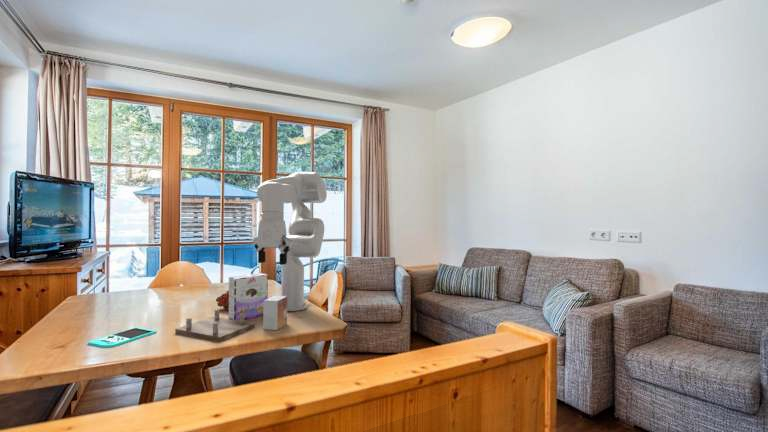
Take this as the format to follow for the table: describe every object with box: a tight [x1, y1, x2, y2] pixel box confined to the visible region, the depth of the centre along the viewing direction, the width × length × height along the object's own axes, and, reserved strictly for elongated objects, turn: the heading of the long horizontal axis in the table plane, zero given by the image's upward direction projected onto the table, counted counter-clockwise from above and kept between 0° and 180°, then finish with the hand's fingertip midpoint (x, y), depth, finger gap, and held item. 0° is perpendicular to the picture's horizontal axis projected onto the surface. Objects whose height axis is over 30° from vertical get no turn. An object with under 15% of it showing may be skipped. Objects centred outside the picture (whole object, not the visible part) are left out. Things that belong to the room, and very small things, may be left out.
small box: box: [262, 295, 288, 331], centre depth 135 cm, size 8×6×10 cm
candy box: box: [228, 272, 269, 321], centre depth 147 cm, size 14×6×16 cm, turn 135°
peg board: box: [174, 308, 256, 343], centre depth 130 cm, size 16×20×5 cm
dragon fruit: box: [215, 290, 229, 311], centre depth 157 cm, size 8×8×12 cm
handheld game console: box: [87, 327, 157, 348], centre depth 121 cm, size 10×16×1 cm, turn 160°
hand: (272, 263), depth 134 cm, fingers open, 9 cm apart
